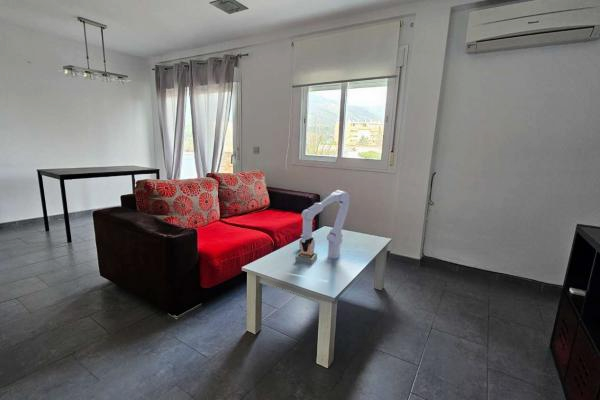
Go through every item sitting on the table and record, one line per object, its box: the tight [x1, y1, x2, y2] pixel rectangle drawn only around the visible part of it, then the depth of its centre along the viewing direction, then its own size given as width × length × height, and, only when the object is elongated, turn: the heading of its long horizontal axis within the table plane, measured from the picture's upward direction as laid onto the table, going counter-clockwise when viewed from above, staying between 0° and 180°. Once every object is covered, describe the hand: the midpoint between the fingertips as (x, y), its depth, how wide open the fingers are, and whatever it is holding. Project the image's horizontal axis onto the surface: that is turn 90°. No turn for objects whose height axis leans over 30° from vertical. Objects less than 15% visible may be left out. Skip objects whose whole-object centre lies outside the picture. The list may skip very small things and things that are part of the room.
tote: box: [294, 251, 318, 266], centre depth 175 cm, size 11×11×4 cm
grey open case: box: [298, 238, 316, 251], centre depth 195 cm, size 14×11×8 cm
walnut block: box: [300, 252, 314, 259], centre depth 175 cm, size 6×6×4 cm
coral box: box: [300, 244, 314, 254], centre depth 174 cm, size 4×6×5 cm
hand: (306, 249), depth 174 cm, fingers closed on coral box, 4 cm apart
